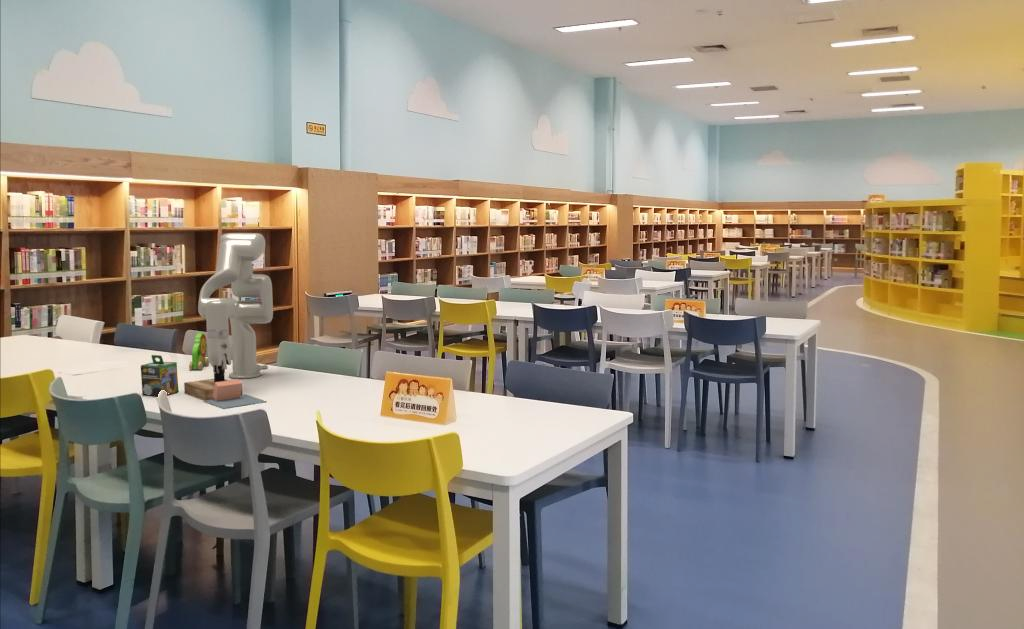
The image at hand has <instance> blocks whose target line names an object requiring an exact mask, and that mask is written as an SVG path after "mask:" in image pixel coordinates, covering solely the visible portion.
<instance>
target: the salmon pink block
mask: <svg viewBox="0 0 1024 629" xmlns="http://www.w3.org/2000/svg"><path fill="white" fill-rule="evenodd" d="M227 380H228V379H227ZM241 389H242V390H243V382H242V381H241V380H240V379H237V378H235V379H230V380H228V381H221V382H215V384H214V391H213V398H214V399H215V400H216V401H219V400H226V399H233V398H239V397H240V395H241Z"/></svg>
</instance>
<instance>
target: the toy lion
mask: <svg viewBox="0 0 1024 629" xmlns="http://www.w3.org/2000/svg"><path fill="white" fill-rule="evenodd" d="M207 349H208V343H207V335H205V333H204V332H197V333H196V335H195V339H194V344H193V346H192V349H191V361H189V363H188V364H189V365H188V368H189V370H190V371H193V370H195V369H198V370H199V371H203V368H204V366H205V367H209V365H210V363H209V362H208V357H206V355H207V354H206V353H207Z"/></svg>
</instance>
